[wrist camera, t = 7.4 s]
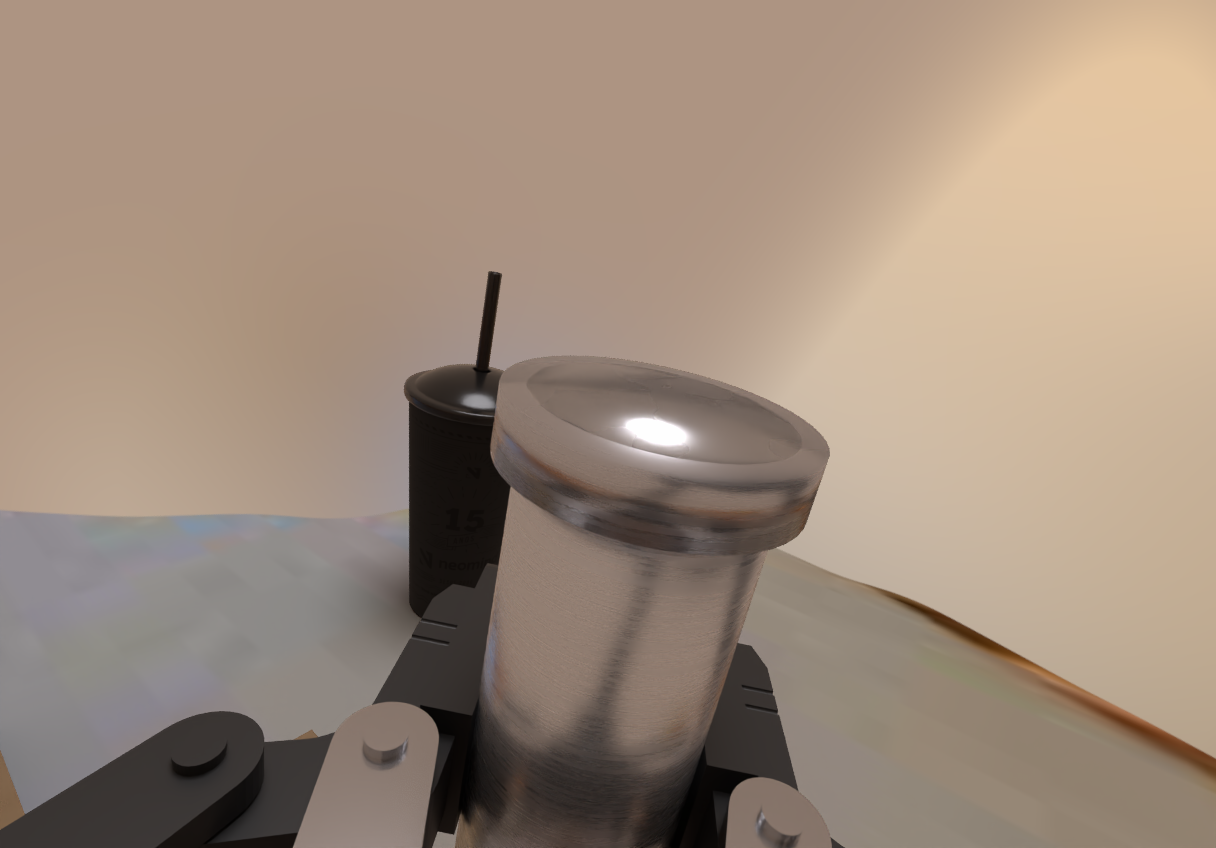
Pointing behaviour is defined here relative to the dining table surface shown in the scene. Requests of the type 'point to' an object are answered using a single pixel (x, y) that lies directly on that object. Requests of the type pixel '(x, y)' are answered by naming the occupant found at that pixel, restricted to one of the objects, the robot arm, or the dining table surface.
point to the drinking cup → (454, 470)
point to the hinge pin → (620, 592)
